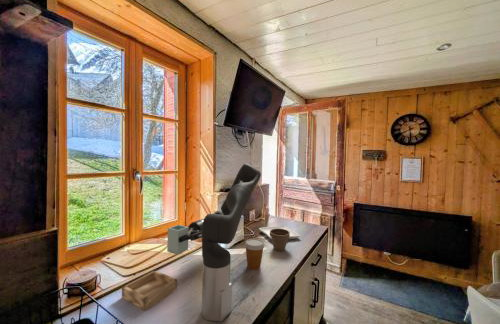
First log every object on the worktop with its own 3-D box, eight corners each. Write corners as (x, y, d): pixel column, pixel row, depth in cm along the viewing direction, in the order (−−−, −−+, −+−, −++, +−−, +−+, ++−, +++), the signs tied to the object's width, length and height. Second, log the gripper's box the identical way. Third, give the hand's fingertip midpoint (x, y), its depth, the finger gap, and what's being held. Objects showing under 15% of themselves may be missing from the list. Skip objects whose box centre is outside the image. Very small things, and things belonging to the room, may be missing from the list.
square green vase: (188, 249, 97) (188, 226, 97) (177, 254, 92) (178, 230, 91) (178, 246, 100) (178, 224, 99) (167, 251, 94) (167, 228, 94)
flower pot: (280, 255, 120) (280, 236, 120) (265, 248, 129) (265, 230, 129) (293, 249, 128) (293, 232, 128) (278, 243, 137) (279, 227, 136)
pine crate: (176, 289, 87) (177, 279, 87) (145, 310, 75) (145, 299, 75) (154, 279, 94) (154, 270, 93) (121, 297, 81) (122, 287, 81)
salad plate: (284, 229, 164) (284, 224, 164) (301, 240, 144) (301, 235, 144) (258, 232, 156) (258, 227, 156) (271, 243, 136) (271, 238, 136)
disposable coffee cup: (253, 260, 114) (254, 236, 113) (267, 267, 107) (268, 242, 107) (239, 266, 107) (240, 241, 107) (253, 274, 100) (254, 247, 100)
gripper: (189, 217, 111) (162, 226, 97) (212, 222, 105) (186, 233, 90) (189, 232, 112) (161, 243, 97) (212, 238, 105) (186, 251, 90)
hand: (173, 238), depth 93 cm, fingers closed on square green vase, 6 cm apart
